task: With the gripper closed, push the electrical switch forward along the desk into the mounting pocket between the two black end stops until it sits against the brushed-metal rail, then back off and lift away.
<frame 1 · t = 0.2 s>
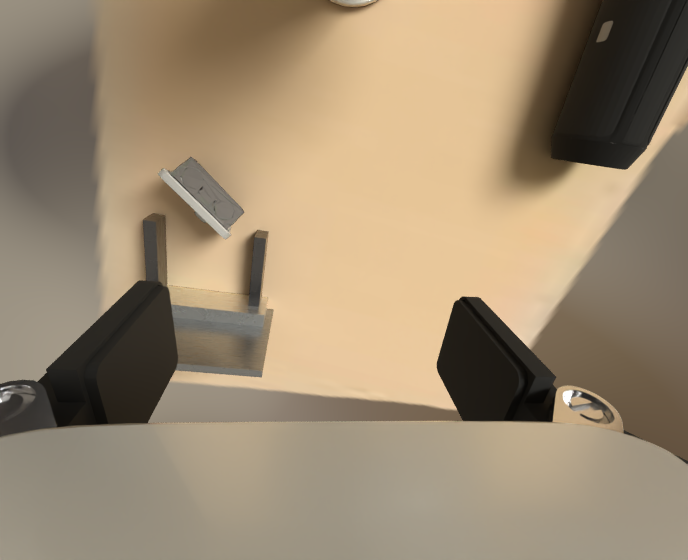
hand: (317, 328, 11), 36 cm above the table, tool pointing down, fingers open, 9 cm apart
portable speaker: (601, 49, 40), on the table
electrical switch: (214, 189, 43), on the table
rail mount: (211, 263, 47), on the table
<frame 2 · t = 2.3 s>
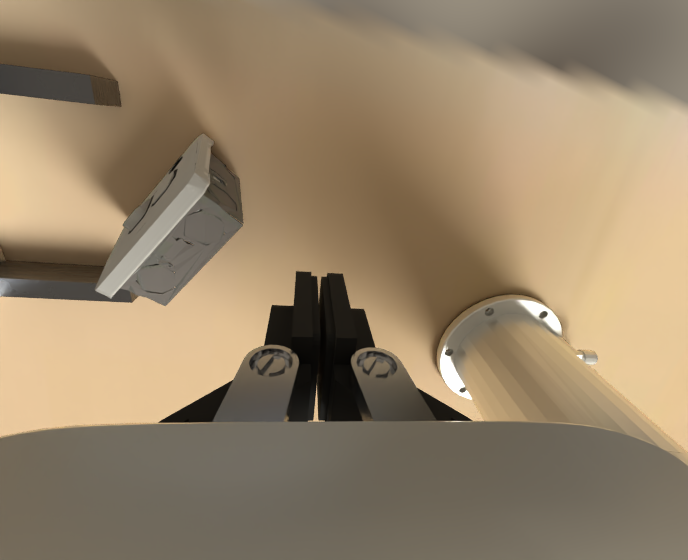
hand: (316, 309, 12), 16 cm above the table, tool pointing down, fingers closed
electrical switch: (199, 200, 26), on the table
rail mount: (47, 188, 24), on the table
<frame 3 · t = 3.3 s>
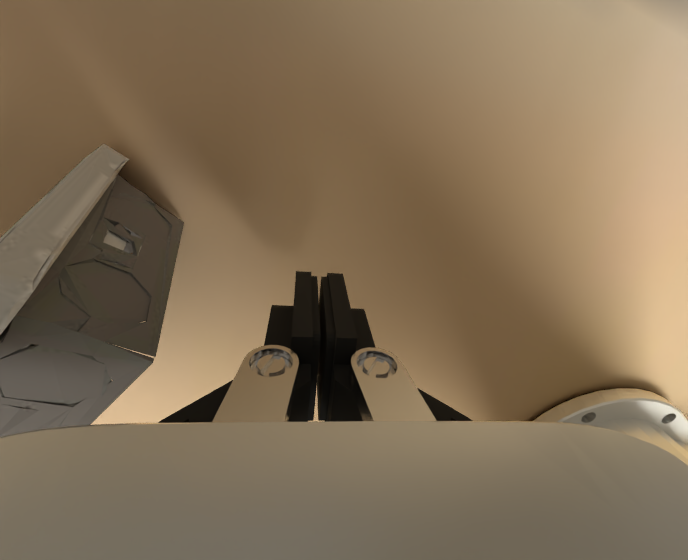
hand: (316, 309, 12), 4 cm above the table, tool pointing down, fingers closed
electrical switch: (116, 259, 15), on the table
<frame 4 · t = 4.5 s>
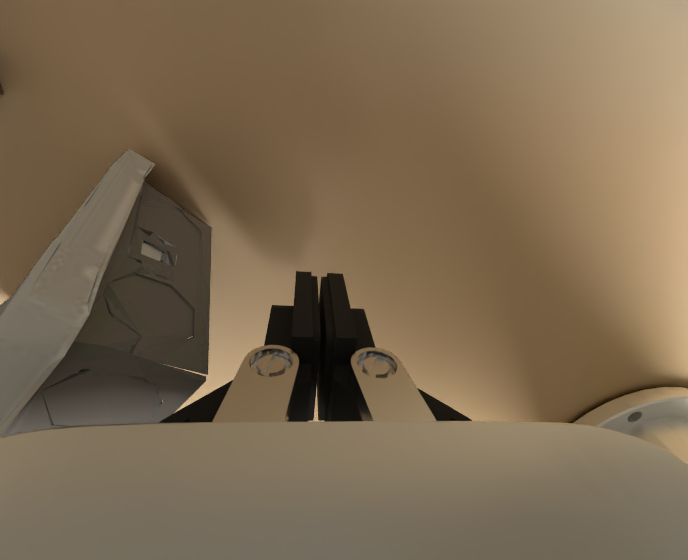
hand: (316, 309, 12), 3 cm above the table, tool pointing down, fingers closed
electrical switch: (142, 268, 14), on the table, touching gripper
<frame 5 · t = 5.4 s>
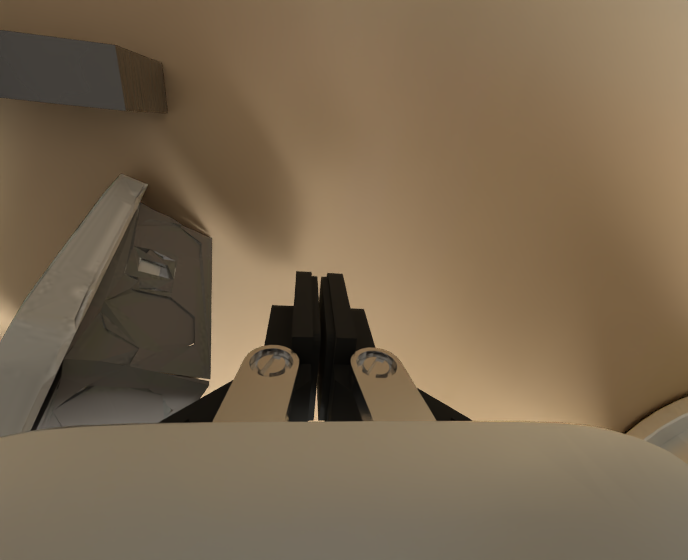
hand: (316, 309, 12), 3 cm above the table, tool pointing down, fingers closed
electrical switch: (155, 287, 15), on the table, touching gripper
rail mount: (31, 259, 13), on the table
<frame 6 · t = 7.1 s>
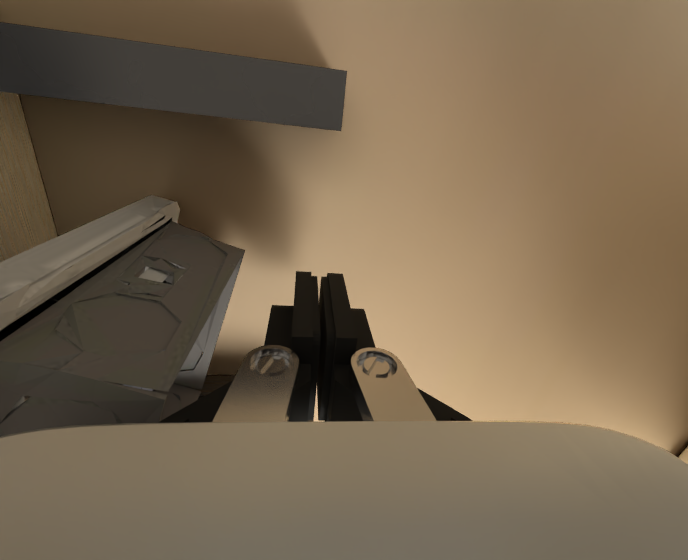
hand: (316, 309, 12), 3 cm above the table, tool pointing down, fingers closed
electrical switch: (203, 310, 14), point 1 cm above the table
rail mount: (180, 266, 14), on the table
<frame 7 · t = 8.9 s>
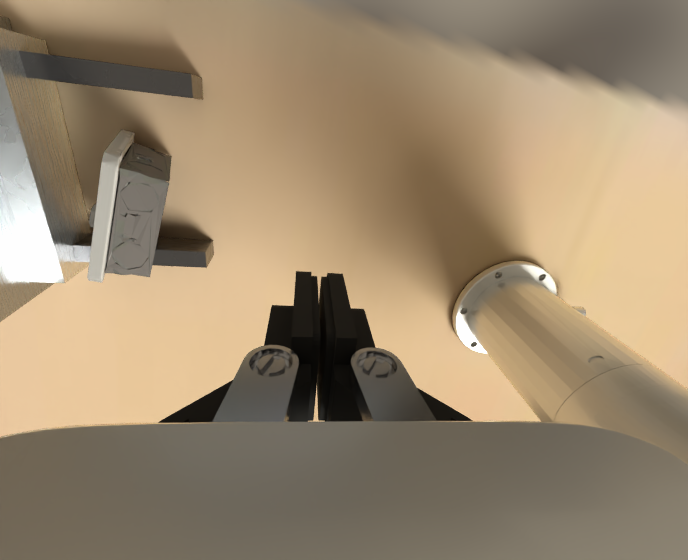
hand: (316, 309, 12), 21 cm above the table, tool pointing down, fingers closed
electrical switch: (151, 190, 29), on the table
rail mount: (134, 169, 28), on the table
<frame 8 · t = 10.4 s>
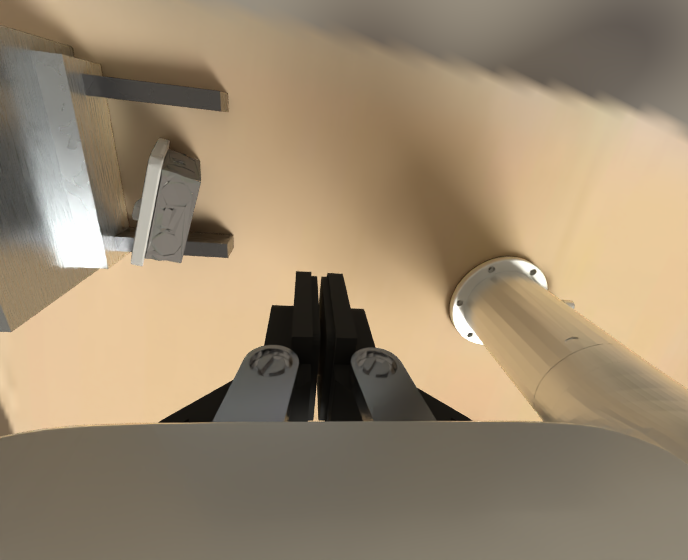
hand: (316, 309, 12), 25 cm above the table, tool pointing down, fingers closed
electrical switch: (182, 190, 34), on the table
rail mount: (168, 172, 33), on the table
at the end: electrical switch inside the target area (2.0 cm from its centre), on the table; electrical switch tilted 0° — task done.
